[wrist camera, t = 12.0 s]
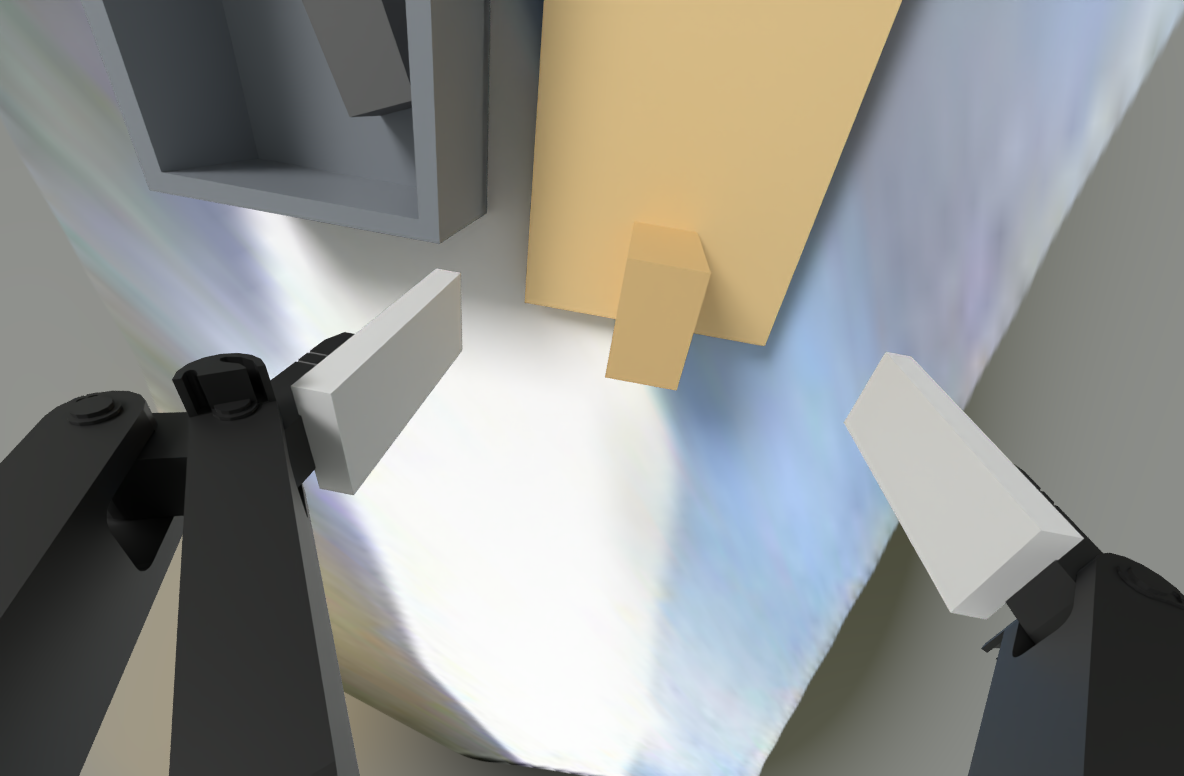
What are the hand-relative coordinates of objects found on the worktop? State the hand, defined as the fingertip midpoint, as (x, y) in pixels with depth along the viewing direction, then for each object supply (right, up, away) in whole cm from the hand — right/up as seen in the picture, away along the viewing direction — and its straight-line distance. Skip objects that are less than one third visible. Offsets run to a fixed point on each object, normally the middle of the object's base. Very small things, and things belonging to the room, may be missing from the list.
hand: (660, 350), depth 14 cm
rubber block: (-11, +13, +5) cm, 18 cm away
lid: (+2, +10, +5) cm, 12 cm away
